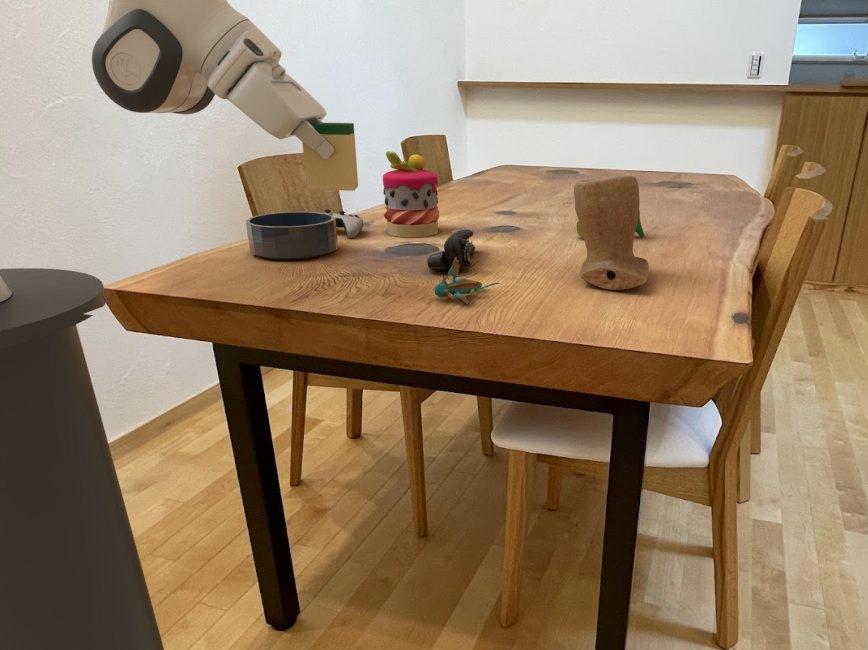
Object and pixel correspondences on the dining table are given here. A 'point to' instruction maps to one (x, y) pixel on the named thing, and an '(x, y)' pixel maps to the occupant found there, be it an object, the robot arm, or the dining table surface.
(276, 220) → the bowl
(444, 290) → the dragon figurine
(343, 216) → the gaming controller
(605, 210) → the brown clay sculpture
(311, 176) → the sponge
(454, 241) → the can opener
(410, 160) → the cake
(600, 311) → the dining table surface
